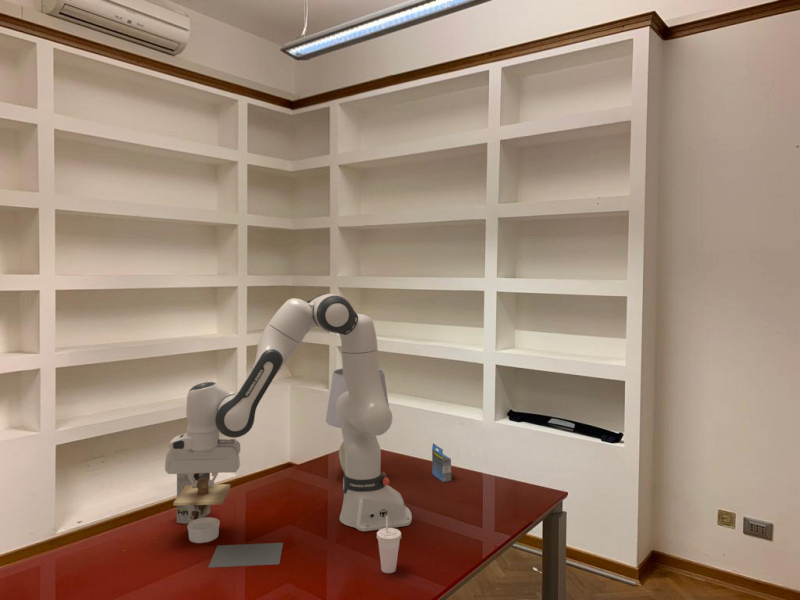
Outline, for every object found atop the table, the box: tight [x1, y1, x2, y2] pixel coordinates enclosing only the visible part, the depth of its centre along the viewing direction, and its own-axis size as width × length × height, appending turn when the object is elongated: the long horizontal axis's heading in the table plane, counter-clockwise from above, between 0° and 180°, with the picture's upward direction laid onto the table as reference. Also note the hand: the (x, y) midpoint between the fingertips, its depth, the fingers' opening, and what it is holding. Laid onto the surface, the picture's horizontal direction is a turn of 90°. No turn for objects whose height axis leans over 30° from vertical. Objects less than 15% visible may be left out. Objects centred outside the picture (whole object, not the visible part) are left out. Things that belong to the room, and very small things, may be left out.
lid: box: [172, 478, 231, 507], centre depth 167 cm, size 13×13×5 cm
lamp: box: [325, 367, 390, 474], centre depth 215 cm, size 24×24×40 cm
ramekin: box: [186, 516, 221, 544], centre depth 167 cm, size 9×9×4 cm
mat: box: [208, 542, 284, 568], centre depth 157 cm, size 18×12×1 cm, turn 96°
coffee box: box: [176, 473, 211, 525], centre depth 180 cm, size 9×6×16 cm
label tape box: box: [431, 442, 452, 483], centre depth 217 cm, size 9×4×12 cm, turn 23°
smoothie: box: [376, 516, 402, 574], centre depth 150 cm, size 6×6×14 cm
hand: (203, 487), depth 167 cm, fingers closed on lid, 3 cm apart
